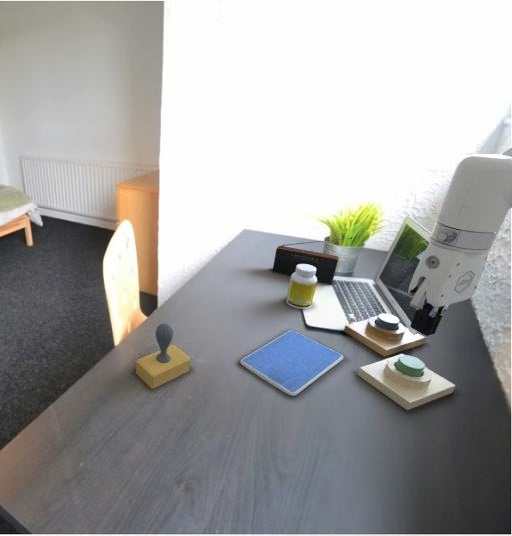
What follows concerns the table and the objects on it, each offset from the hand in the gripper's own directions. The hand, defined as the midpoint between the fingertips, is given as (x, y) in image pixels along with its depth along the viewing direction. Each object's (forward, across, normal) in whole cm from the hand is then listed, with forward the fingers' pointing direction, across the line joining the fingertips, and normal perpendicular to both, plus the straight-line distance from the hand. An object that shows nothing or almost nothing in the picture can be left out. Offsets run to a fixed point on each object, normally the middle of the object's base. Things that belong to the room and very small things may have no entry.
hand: (421, 330), depth 67 cm
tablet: (+13, -14, +13) cm, 23 cm away
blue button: (+9, +10, +12) cm, 18 cm away
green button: (+9, 0, 0) cm, 9 cm away
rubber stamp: (+14, -42, +20) cm, 48 cm away
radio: (+13, +18, +42) cm, 47 cm away
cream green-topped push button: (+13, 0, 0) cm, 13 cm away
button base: (+13, +10, +12) cm, 20 cm away
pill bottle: (+13, +4, +31) cm, 34 cm away
